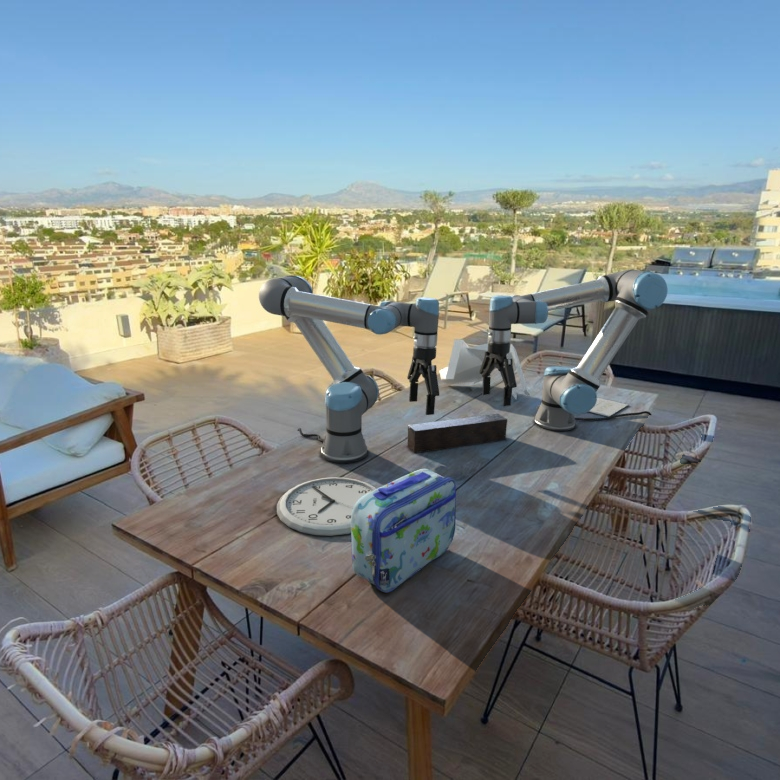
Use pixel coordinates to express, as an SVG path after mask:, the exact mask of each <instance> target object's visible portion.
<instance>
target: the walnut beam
mask: <svg viewBox="0 0 780 780" xmlns="http://www.w3.org/2000/svg"><path fill="white" fill-rule="evenodd" d="M507 427H508V418H506V417H505V416H503V415H501V414H500V413H494V414H486V415H485V414H484V415H479V416H469V417H461V418H453V419H446V420H438V421H437V420H436V421H429V422H422V423H413V424H408V425H407V448H408V449H409V450H411V452H412V453H413V454H416V453H417V454H418V453H425V452H431V451H438V450H439V451H440V450H445V449H451V448H459V447H466V446H470V445H471V446H473V445H479V444H485V443H487V444H488V443H494V442H499V441H500V442H501V441H506V437H507Z"/></svg>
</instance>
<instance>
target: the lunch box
mask: <svg viewBox="0 0 780 780" xmlns="http://www.w3.org/2000/svg"><path fill="white" fill-rule="evenodd" d="M456 517H457V485H456V481H455V479H453V478H452V477H449V476H447V477H445V476H442V475H440V474H439V473H437V472H434V471H433V470H431V469H428V468H420V469H417V470H414V471H413V472H410V473H408V474H405V475H403V476H401V477H399V478H397V479H394V480H393V481H390V482H388V483H387V484H383V485H382V486H380V487H377V489H376V490H374V491H372V492H370V493H367V494H365V495H364V496H362V497H361V498H360V499H359V500H358V501H357V502H356V504H355V505H354V507H353V510H352V514H351V533H350V538H351V539H350V540H351V564H352V570H353V572H354V574H355V575H356V576H358V577H359V578H362V579H364V580H366V581H368V582H369V583H370V584H372V585H374V586H375V587H376V589H377V590H379V591H381V592H383V593H391V592H392V591H394V590H395V589H397V588H398V587H400V586H401V584H403V583H404V582H406V581H407V580H408V579H410V578H411V577H412V576H414V575H415V574H417V573H418V572H419V571H421V570H423V568H425V566H426V565H428V564H429V563H431V562H432V561H434V560H435V559H437V558H440V556H442V555H443V554H445V553H446V552H447V550H448V549H449V548H450V546H451V545H452V542H453V540H454V537H455V532H456V522H457V521H456V519H457V518H456Z"/></svg>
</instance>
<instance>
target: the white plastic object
mask: <svg viewBox="0 0 780 780" xmlns="http://www.w3.org/2000/svg"><path fill="white" fill-rule="evenodd" d="M486 351H488V342H487V343H483V344H479V345H473V346H469V345H468V343H466V342H465V340H464V339H463V338H460V339H458V338H454V340H453V344H452V349H451V353H450V357H449V362H448V366H446V367H444V368H442V369H440V370H439V371H438V372H439V376H440V381H442V383H443V384H444V385H445V386H449V385H458V384H467V383H468V384H469V383H473V384H477V383H480V382H483V377H482V374H480V373H479V371H480V369H481V366H482V363H483V360H484V357H485V352H486ZM507 359H512V360H513V363H514V366H515V369H516V372H517V376H518V380H519V382H520V385H521V389H522V391H523V393H524V395H525V396H526V397H528V396H531V395H530V390H529V388H528V387H529V386H528V384H527V381H526V378H525V375H524V371H523V369H522V368H523V367H522V366H521V362H520V359H519V355H518V352H517V349H516V347H515V346H514V345H513V343H510V352H509V353H508V354H507ZM496 369H497V368H496V367H495V368H494V369H493V371H495V370H496ZM516 391H517V390H516V387H515V388H512V397H513V398H514V399H515V400H517V392H516Z"/></svg>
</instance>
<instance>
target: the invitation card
mask: <svg viewBox="0 0 780 780" xmlns="http://www.w3.org/2000/svg"><path fill="white" fill-rule="evenodd" d="M628 406H629V404H627V403H623V402H618V401H614V400H609V399H605V398H601V397H597V401H596V404H595V406H594V407H593V408H592V409H591V410H590V411H588V412H587V413H593V414H596V415H600V416H604V417H611V416H614V414H616V413H617V412H619V411H621V410H623V409H624V408H626V407H628Z"/></svg>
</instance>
